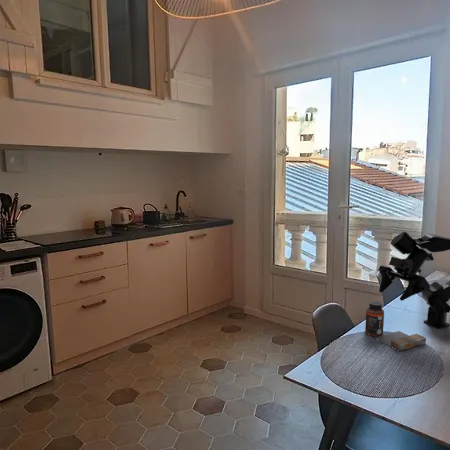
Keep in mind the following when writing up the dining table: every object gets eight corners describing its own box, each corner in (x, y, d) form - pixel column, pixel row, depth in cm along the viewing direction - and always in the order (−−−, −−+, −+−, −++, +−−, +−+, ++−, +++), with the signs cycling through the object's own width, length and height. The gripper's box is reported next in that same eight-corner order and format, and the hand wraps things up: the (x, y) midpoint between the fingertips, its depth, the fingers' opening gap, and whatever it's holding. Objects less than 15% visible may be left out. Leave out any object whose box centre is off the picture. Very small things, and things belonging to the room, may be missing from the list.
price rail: (416, 339, 129) (416, 333, 129) (426, 344, 125) (426, 338, 125) (390, 347, 124) (391, 340, 124) (400, 352, 120) (401, 345, 120)
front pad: (399, 331, 135) (399, 330, 135) (416, 339, 129) (416, 338, 129) (374, 338, 130) (374, 337, 130) (390, 347, 124) (390, 346, 124)
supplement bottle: (384, 337, 131) (386, 306, 129) (366, 336, 132) (368, 305, 130) (381, 330, 136) (382, 300, 135) (363, 329, 138) (365, 299, 136)
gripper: (382, 244, 143) (359, 276, 140) (426, 254, 127) (401, 290, 124) (396, 262, 148) (374, 293, 145) (440, 273, 131) (416, 309, 128)
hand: (390, 295), depth 135 cm, fingers open, 9 cm apart
